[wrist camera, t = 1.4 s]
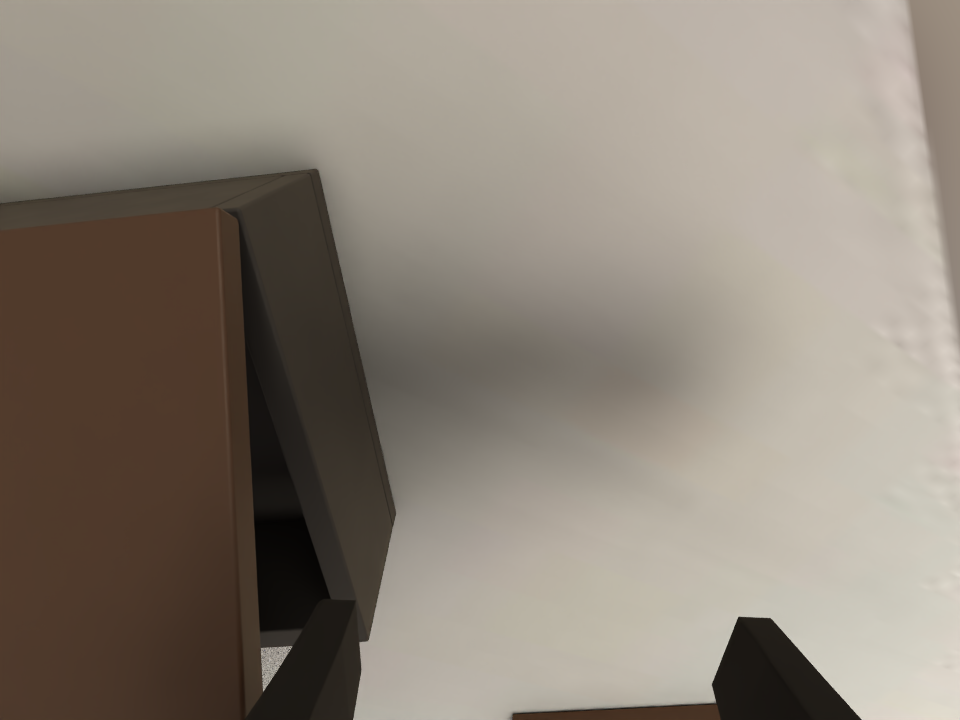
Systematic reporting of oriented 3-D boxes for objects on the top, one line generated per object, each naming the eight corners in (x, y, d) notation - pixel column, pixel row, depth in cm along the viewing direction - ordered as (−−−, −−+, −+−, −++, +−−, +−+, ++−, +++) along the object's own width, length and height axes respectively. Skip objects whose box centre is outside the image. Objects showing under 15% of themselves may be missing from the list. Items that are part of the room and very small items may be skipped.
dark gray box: (396, 513, 22) (369, 642, 17) (104, 534, 23) (-7, 664, 18) (318, 168, 16) (239, 207, 11) (-76, 211, 17) (-322, 267, 12)
